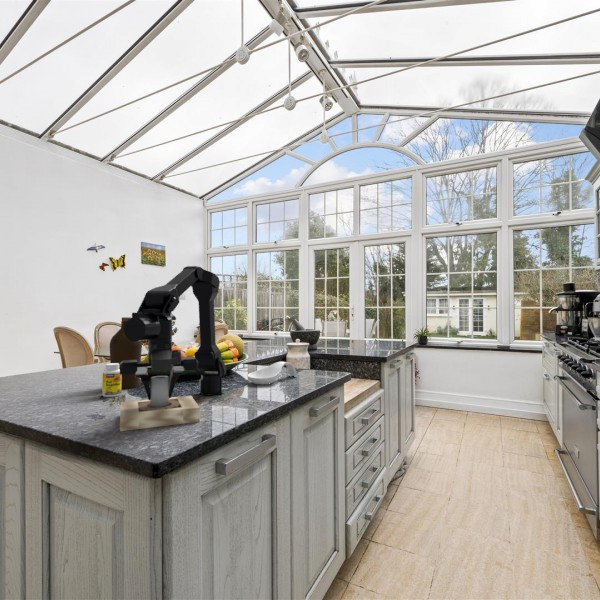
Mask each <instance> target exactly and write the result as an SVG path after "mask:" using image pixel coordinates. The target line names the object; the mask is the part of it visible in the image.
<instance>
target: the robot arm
mask: <svg viewBox="0 0 600 600" xmlns="http://www.w3.org/2000/svg"><path fill="white" fill-rule="evenodd" d="M220 281H221V280H220V278H219V277H218V276H217V275H216V274H215V273H214V272H211V271H209V270H206V269H204V268H202V266H198V265H187V266H185V267H183V269H182V270H181V271H180V272H179V273H178V274H176V275H175V276H174V277H173V278H172V279H170V280H169V281H168V282H167V283H165V284H164V285H161V286H156V287H154V288H152V289H149V290H148V291H147V292H146V293H145V295H144V297H143V299H142V301H141V303H140V306H139V307H138V310H137V312H131V318H130V319H129V320H128V321H127V322H126V325H125V327H124V333H125V336H126V337H127V338H128V339H129V340H130V341H133V342H136V341H142V342H143V341H147V343H148V348H147V349H148V350H147V354H148V356H147V359H148V360H147V361H145V362H141V363H137V360H123V361H122V362H121V363H120V375H125V374H134V373H135V377H140V381H141V382H142V384H143V386H144V389H145V392H146V396H147V400H150V399H151V394H150V381H149V380H150V379H149V372H148V370H151V371H152V372H159V371H160V372H161V371H167V372H169V373H170V374H169V398H171V397H172V395H173V392H174V389H175V386H176V383H177V381H178V380H179V378H180V376H181V375H184V374H185V371H195V373H196V376H201V377H200V379H199V380H198V381H199V382H198V384H199V385H198V386H199V388H198V389H199V392H200V394H201V395H202V396H203V397H204V396H214V395H215V396H216V395H222V394H224V392H223V391H222V389H223V388H222V383H223V381H222V380H223V379H222V378H223V377H222V376H226V374H227V365H226V364H225V362H224V360H223V357H222V351H221V350H220V348H219V347H218V345H217V343H216V342H217V341H216V323H215V299H216V298H217V296H218V294H219V291H220V290H219V289H220ZM190 287H191V288H192V294H193V295H194V297H195V298H196V300H197V301H198V320H199V323H198V324H199V344H200V345H199V347H198V348H197V350H196V351H195V352H194V356H187V357H185V356H183V357H182V354H181V353H182V351H181V349H173V346H172V345H173V321H176V320H177V317H176V316H175V315H174V314H173V312H174V311H175V310H176V308H177V307H178V306H179V304H180V297H181V296H182V295H183V294H184V293H185V292H186V291H187V290H188V289H190Z"/></svg>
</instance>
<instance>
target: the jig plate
mask: <svg viewBox="0 0 600 600" xmlns="http://www.w3.org/2000/svg"><path fill="white" fill-rule="evenodd" d="M200 410H201V409H200V405H198V403H197V402H196V400H195V399H194V398H193V396H192V395H184V396H174V397H173V396H171V398H169V406H167V407H161V408H150V400H149V399H141V400H128V401H120V412H119V413H120V415H119V416H120V417H119V431H120V432H126V431H133V430H134V431H135V430H139V429H140V430H141V429H142V430H143V429H151V428H156V427H157V428H158V427H165V426H174V425H181V424H191V423H199V422H200V421H201V420H200V417H201V416H200V415H201V414H200V413H201V411H200Z"/></svg>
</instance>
